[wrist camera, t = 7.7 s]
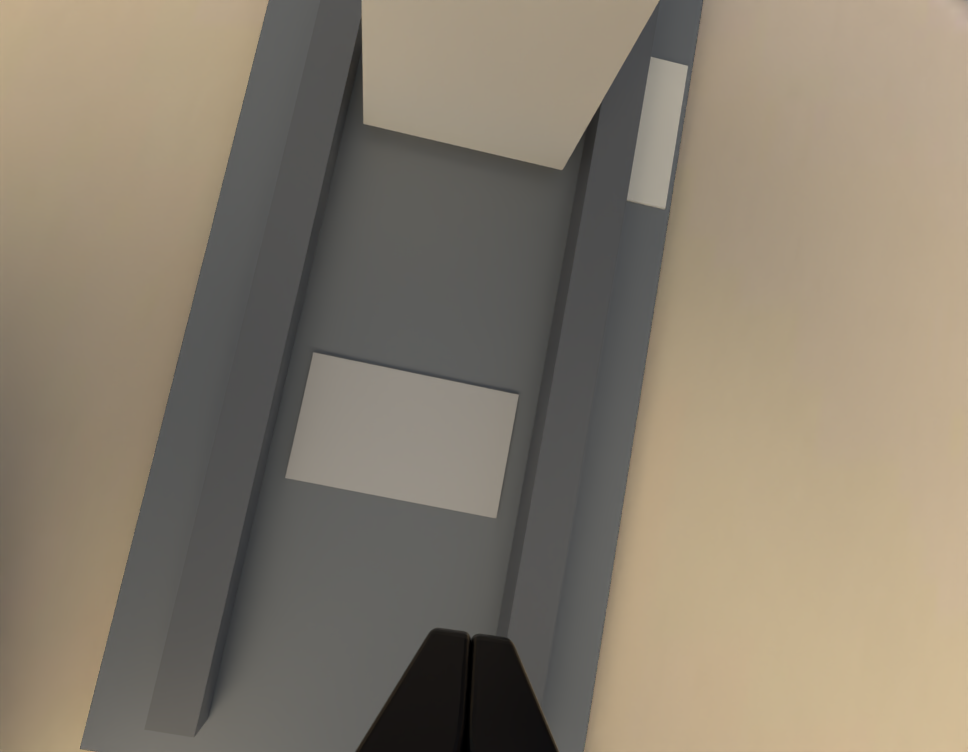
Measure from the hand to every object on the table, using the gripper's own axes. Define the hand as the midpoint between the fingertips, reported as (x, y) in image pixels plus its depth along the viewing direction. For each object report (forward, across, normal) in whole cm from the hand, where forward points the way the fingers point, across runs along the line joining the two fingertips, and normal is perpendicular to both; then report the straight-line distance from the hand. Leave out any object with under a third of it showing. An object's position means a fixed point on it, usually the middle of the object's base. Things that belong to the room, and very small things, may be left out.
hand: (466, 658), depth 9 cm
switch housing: (+13, +2, +4) cm, 14 cm away
